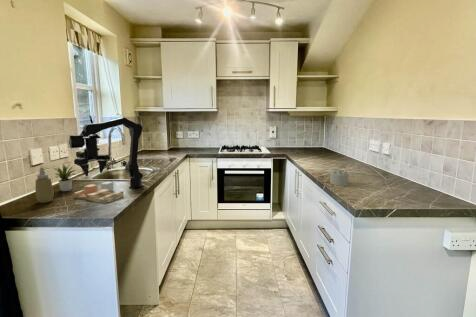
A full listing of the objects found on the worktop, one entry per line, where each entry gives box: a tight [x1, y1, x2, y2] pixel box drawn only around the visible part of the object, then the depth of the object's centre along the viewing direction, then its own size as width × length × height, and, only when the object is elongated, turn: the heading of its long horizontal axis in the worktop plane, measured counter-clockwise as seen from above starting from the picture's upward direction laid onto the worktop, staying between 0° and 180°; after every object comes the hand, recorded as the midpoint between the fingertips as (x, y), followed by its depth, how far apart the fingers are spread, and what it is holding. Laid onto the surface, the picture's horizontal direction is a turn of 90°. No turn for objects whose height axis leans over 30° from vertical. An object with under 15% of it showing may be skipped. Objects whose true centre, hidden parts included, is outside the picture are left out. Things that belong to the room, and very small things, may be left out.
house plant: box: [52, 163, 77, 192], centre depth 164 cm, size 14×14×16 cm
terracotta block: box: [83, 183, 98, 195], centre depth 154 cm, size 4×4×5 cm
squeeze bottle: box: [35, 167, 55, 204], centre depth 143 cm, size 8×8×18 cm
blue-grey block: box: [100, 181, 114, 192], centre depth 164 cm, size 4×4×5 cm
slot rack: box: [74, 189, 124, 204], centre depth 152 cm, size 12×23×3 cm, turn 67°
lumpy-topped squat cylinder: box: [329, 169, 350, 187], centre depth 180 cm, size 10×13×9 cm
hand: (94, 174), depth 155 cm, fingers open, 9 cm apart
